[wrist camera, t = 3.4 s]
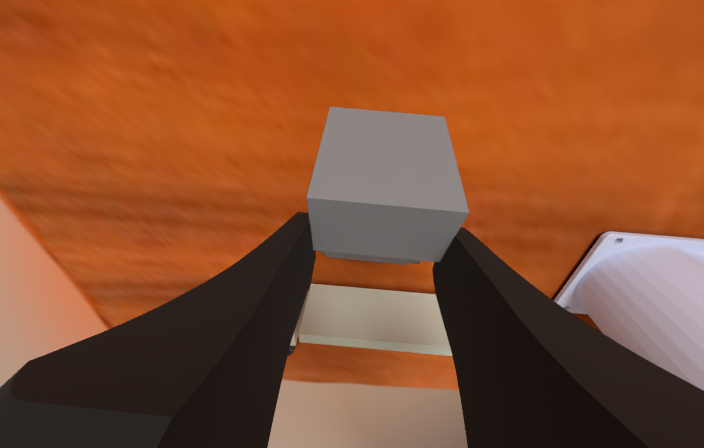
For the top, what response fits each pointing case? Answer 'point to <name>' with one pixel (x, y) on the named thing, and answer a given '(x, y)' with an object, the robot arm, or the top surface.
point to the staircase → (385, 188)
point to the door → (374, 320)
